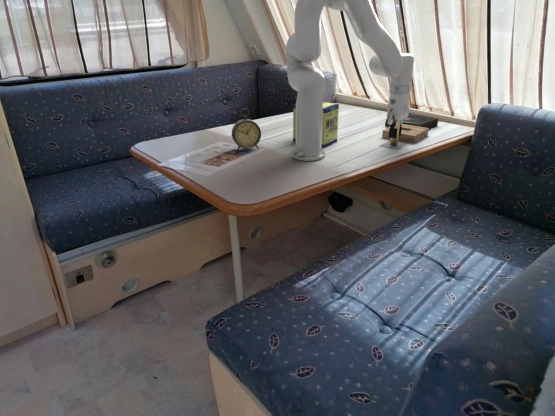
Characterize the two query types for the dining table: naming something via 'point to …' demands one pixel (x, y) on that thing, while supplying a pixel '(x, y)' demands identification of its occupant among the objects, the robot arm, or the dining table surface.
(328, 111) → the protein box
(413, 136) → the block
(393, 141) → the pin
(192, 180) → the dining table surface
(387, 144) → the mat
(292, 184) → the dining table surface
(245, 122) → the alarm clock
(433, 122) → the portable cd player
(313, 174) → the dining table surface
